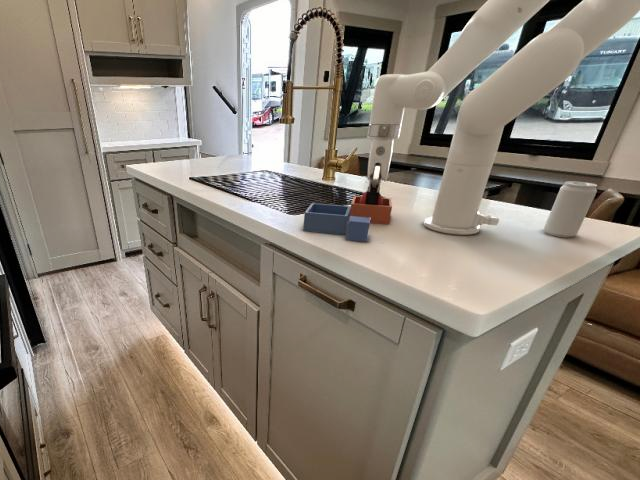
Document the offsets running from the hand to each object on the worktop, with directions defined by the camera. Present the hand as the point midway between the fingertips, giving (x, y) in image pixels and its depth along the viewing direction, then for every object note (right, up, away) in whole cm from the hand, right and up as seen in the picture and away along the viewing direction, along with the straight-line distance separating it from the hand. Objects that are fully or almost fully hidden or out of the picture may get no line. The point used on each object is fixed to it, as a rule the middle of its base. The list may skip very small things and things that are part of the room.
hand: (371, 203), depth 98 cm
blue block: (-8, -12, -14) cm, 20 cm away
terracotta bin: (0, -3, +2) cm, 4 cm away
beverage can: (+42, -11, -11) cm, 44 cm away
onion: (0, -3, +2) cm, 3 cm away
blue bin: (-14, -8, -6) cm, 17 cm away
